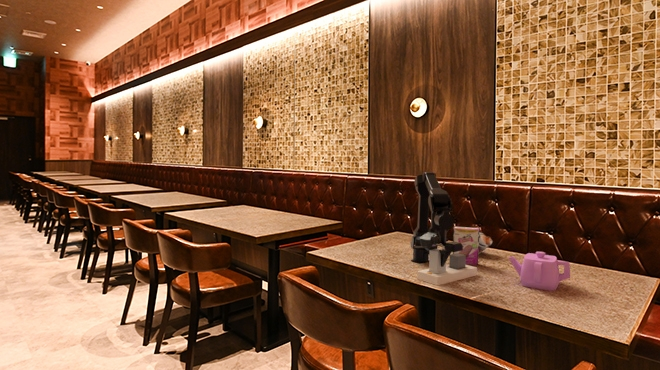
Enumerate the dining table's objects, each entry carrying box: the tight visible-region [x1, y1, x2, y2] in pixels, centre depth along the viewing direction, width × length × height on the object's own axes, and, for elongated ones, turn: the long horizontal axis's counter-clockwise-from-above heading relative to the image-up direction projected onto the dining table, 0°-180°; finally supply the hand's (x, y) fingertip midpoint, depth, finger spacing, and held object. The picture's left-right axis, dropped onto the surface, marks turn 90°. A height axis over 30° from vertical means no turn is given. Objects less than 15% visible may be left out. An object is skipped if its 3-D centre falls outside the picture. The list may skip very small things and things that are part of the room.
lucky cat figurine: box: [479, 231, 494, 255], centre depth 202 cm, size 15×12×14 cm
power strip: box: [416, 263, 478, 286], centre depth 160 cm, size 10×24×4 cm, turn 125°
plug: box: [428, 248, 447, 273], centre depth 156 cm, size 4×5×8 cm
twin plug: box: [448, 253, 466, 270], centre depth 163 cm, size 4×5×8 cm
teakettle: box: [508, 251, 571, 292], centre depth 153 cm, size 17×17×12 cm
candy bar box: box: [452, 226, 480, 266], centre depth 182 cm, size 11×5×16 cm, turn 71°
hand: (437, 265), depth 156 cm, fingers closed on plug, 4 cm apart
